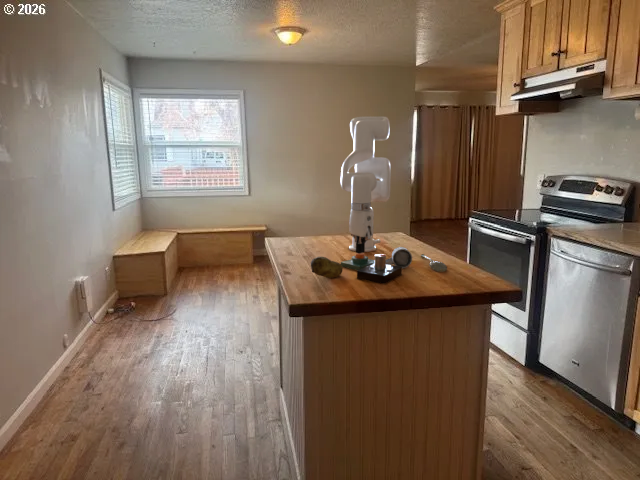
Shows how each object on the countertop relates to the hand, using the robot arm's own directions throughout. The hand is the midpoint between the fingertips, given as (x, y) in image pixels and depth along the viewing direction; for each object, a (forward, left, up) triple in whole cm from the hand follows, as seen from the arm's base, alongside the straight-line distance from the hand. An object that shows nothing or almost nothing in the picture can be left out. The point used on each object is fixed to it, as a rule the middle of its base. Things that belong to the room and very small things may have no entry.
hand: (360, 252), depth 174 cm
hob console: (+4, +16, -5) cm, 18 cm away
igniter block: (0, 0, -5) cm, 5 cm away
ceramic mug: (-12, +9, -6) cm, 16 cm away
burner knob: (+4, +16, -2) cm, 17 cm away
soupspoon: (-25, +15, -6) cm, 30 cm away
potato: (+20, +6, -6) cm, 22 cm away
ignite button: (0, 0, -2) cm, 2 cm away
